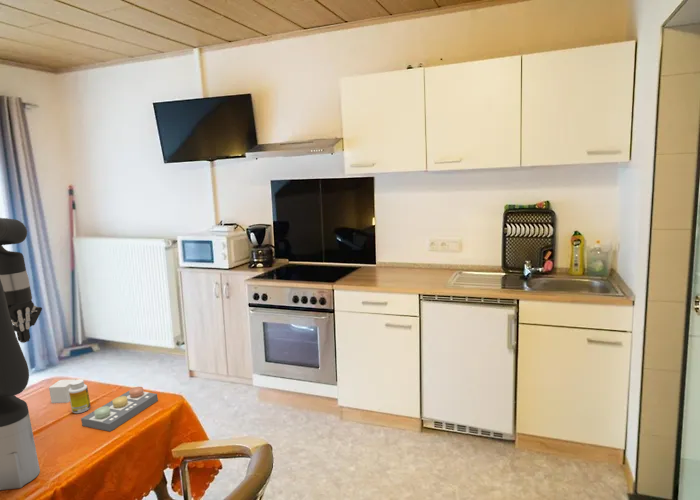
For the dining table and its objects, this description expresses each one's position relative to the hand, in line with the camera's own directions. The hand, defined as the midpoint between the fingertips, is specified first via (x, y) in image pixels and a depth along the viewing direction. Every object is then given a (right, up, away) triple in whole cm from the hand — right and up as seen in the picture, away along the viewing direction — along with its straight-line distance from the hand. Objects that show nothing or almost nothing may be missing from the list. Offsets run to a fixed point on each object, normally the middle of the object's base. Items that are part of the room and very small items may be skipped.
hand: (24, 341), depth 144 cm
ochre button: (+24, -23, +12) cm, 35 cm away
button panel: (+24, -26, +12) cm, 37 cm away
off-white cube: (-3, -26, +25) cm, 36 cm away
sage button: (+21, -24, +5) cm, 32 cm away
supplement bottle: (+8, -26, +16) cm, 32 cm away
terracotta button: (+26, -22, +18) cm, 38 cm away
